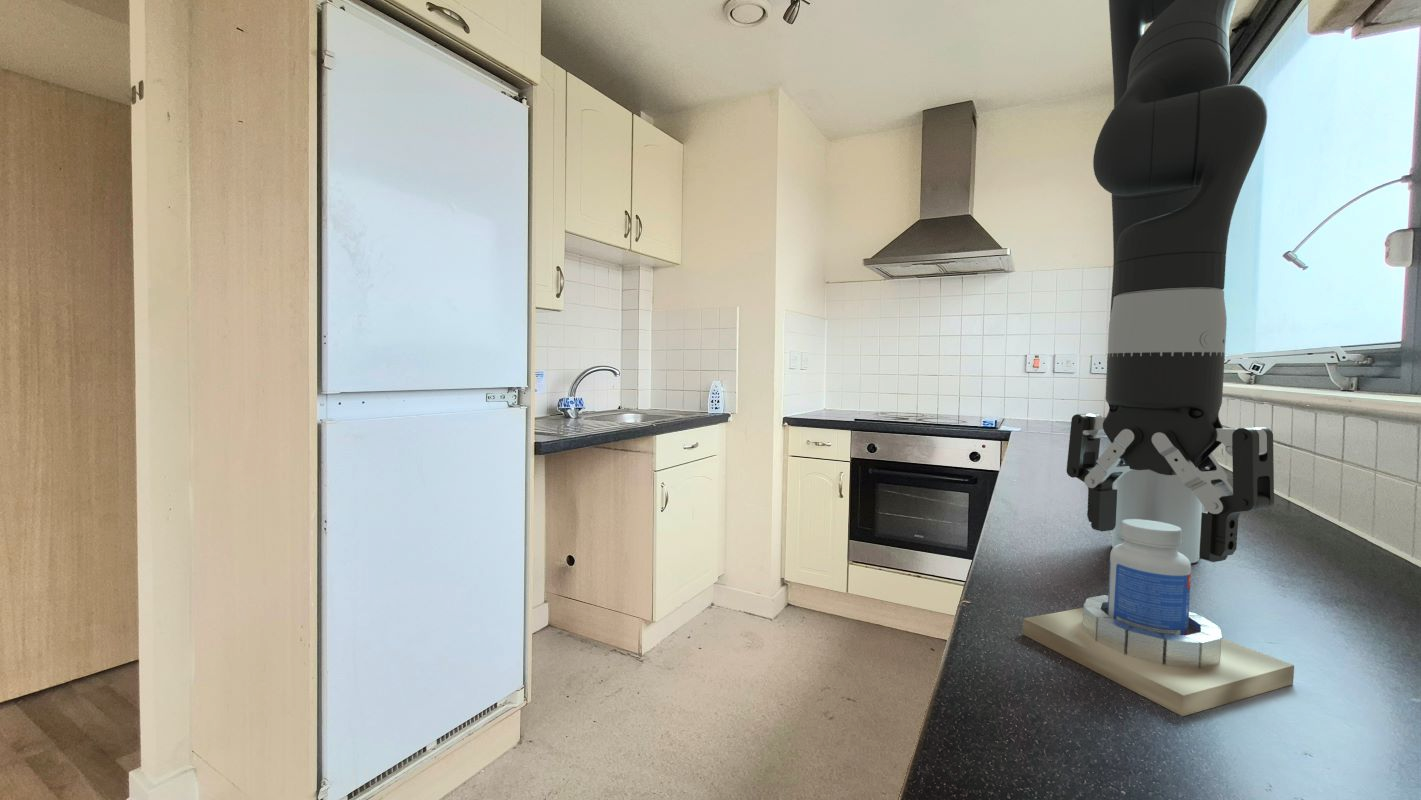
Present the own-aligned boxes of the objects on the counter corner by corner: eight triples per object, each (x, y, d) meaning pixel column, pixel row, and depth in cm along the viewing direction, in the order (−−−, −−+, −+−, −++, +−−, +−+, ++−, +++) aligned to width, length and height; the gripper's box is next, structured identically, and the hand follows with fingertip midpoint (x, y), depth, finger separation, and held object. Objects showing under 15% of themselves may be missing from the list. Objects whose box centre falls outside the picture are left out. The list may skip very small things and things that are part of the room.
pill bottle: (1203, 658, 45) (1210, 536, 44) (1126, 650, 46) (1132, 531, 45) (1162, 627, 50) (1168, 518, 50) (1095, 621, 51) (1100, 514, 51)
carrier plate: (1121, 615, 56) (1122, 600, 56) (1292, 684, 44) (1294, 665, 44) (1022, 634, 52) (1023, 618, 52) (1182, 716, 39) (1183, 695, 39)
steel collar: (1129, 611, 53) (1130, 590, 53) (1246, 656, 45) (1248, 632, 45) (1059, 624, 50) (1060, 602, 50) (1171, 675, 42) (1172, 649, 42)
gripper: (1305, 347, 41) (1290, 567, 42) (1108, 351, 54) (1101, 518, 55) (1240, 346, 38) (1226, 579, 39) (1051, 350, 52) (1044, 525, 53)
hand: (1153, 543), depth 47 cm, fingers open, 8 cm apart
